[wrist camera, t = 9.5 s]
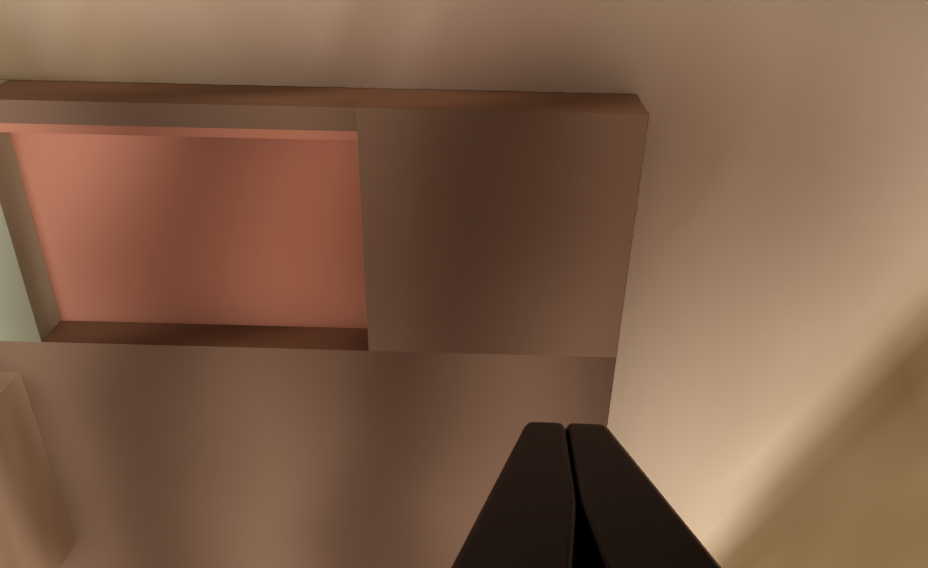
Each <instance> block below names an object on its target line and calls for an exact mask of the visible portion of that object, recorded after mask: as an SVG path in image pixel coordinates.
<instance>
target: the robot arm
mask: <svg viewBox="0 0 928 568" xmlns="http://www.w3.org/2000/svg"><path fill="white" fill-rule="evenodd" d="M451 568H721V567H720V566H719V564H718V563H717V562H716V561H715V559H714V558H713V557H712V556H711V555H710V553H709V552H708V551H707V550H706V548H705V547H704V546H703V545H702V543H701V542H700V541H699V540H698V539H697V537H696V536H695V535H694V534H693V532H692V531H691V530H690V529H689V527H688V526H687V525H686V524H685V523H684V521H683V520H682V519H681V518H680V516H679V515H678V514H677V513H676V512H675V510H674V509H673V508H672V507H671V505H670V504H669V503H668V502H667V500H666V499H665V498H664V497H663V496H662V494H661V493H660V492H659V491H658V489H657V488H656V487H655V486H654V484H653V483H652V482H651V481H650V480H649V478H648V477H647V476H646V475H645V473H644V472H643V471H642V470H641V468H640V467H639V466H638V465H637V464H636V462H635V461H634V460H633V459H632V457H631V456H630V455H629V454H628V453H627V451H626V450H625V449H624V448H623V446H622V445H621V444H620V443H619V441H618V440H617V439H616V438H615V437H614V435H613V434H612V433H611V432H610V430H609V429H608V428H607V427H605V426H604V425H601V424H582V423H571V424H569V425H568V426H567V428H565V427H564V425H563V424H561V423H552V422H530V423H528V424H527V425H526V426H525V427H524V429H523V431H522V432H521V434H520V436H519V438H518V440H517V442H516V444H515V446H514V448H513V450H512V452H511V454H510V456H509V457H508V459H507V461H506V463H505V465H504V467H503V469H502V471H501V473H500V475H499V477H498V479H497V480H496V482H495V484H494V486H493V488H492V490H491V492H490V494H489V496H488V498H487V500H486V502H485V504H484V505H483V507H482V509H481V511H480V513H479V515H478V517H477V519H476V521H475V523H474V525H473V527H472V528H471V530H470V532H469V534H468V536H467V538H466V540H465V542H464V544H463V546H462V548H461V550H460V552H459V553H458V555H457V557H456V559H455V561H454V563H453V565H452V567H451Z"/></svg>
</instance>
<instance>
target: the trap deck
mask: <svg viewBox="0 0 928 568" xmlns="http://www.w3.org/2000/svg"><path fill="white" fill-rule="evenodd" d="M648 118H649V114H648V112H647V111H646V109H645V107H644V106H643V104H642V103H641V101H640V99H639V98H638V96H637V94H595V93H551V92H507V91H463V90H419V89H375V88H331V87H287V86H243V85H199V84H155V83H111V82H67V81H23V80H0V371H8V372H20V373H21V376H22V380H23V383H24V386H25V389H26V392H27V395H28V398H29V401H30V404H31V407H32V410H33V413H34V416H35V420H36V423H37V426H38V429H39V432H40V435H41V438H42V441H43V444H44V447H45V450H46V453H47V456H48V460H49V463H50V466H51V469H52V472H53V475H54V478H55V481H56V484H57V487H58V490H59V493H60V496H61V500H62V503H63V506H64V509H65V512H66V515H67V518H68V521H69V524H70V527H71V530H72V533H73V536H74V540H75V544H74V546H73V548H72V550H71V551H70V553H69V555H68V556H67V558H66V560H65V561H64V563H63V565H62V566H61V568H451V567H452V565H453V563H454V561H455V559H456V557H457V555H458V553H459V552H460V550H461V548H462V546H463V544H464V542H465V540H466V538H467V536H468V534H469V532H470V530H471V528H472V527H473V525H474V523H475V521H476V519H477V517H478V515H479V513H480V511H481V509H482V507H483V505H484V504H485V502H486V500H487V498H488V496H489V494H490V492H491V490H492V488H493V486H494V484H495V482H496V480H497V479H498V477H499V475H500V473H501V471H502V469H503V467H504V465H505V463H506V461H507V459H508V457H509V456H510V454H511V452H512V450H513V448H514V446H515V444H516V442H517V440H518V438H519V436H520V434H521V432H522V431H523V429H524V427H525V426H526V425H527V424H528V423H530V422H552V423H561V424H563V425H564V427H565V428H567V426H568V425H569V424H571V423H582V424H601V425H604V426H605V427H607V422H608V415H609V407H610V400H611V392H612V385H613V377H614V370H615V363H616V355H617V348H618V340H619V333H620V326H621V318H622V311H623V303H624V296H625V288H626V281H627V274H628V266H629V259H630V251H631V244H632V236H633V229H634V222H635V214H636V207H637V199H638V192H639V185H640V177H641V170H642V162H643V155H644V147H645V140H646V133H647V125H648Z"/></svg>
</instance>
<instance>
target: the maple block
mask: <svg viewBox="0 0 928 568" xmlns="http://www.w3.org/2000/svg"><path fill="white" fill-rule="evenodd" d="M74 544H75V540H74V536H73V533H72V530H71V527H70V524H69V521H68V518H67V515H66V512H65V509H64V506H63V503H62V500H61V496H60V493H59V490H58V487H57V484H56V481H55V478H54V475H53V472H52V469H51V466H50V463H49V460H48V456H47V453H46V450H45V447H44V444H43V441H42V438H41V435H40V432H39V429H38V426H37V423H36V420H35V416H34V413H33V410H32V407H31V404H30V401H29V398H28V395H27V392H26V389H25V386H24V383H23V380H22V376H21V373H20V372H8V371H0V568H61V566H62V565H63V563H64V561H65V560H66V558H67V556H68V555H69V553H70V551H71V550H72V548H73V546H74Z"/></svg>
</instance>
